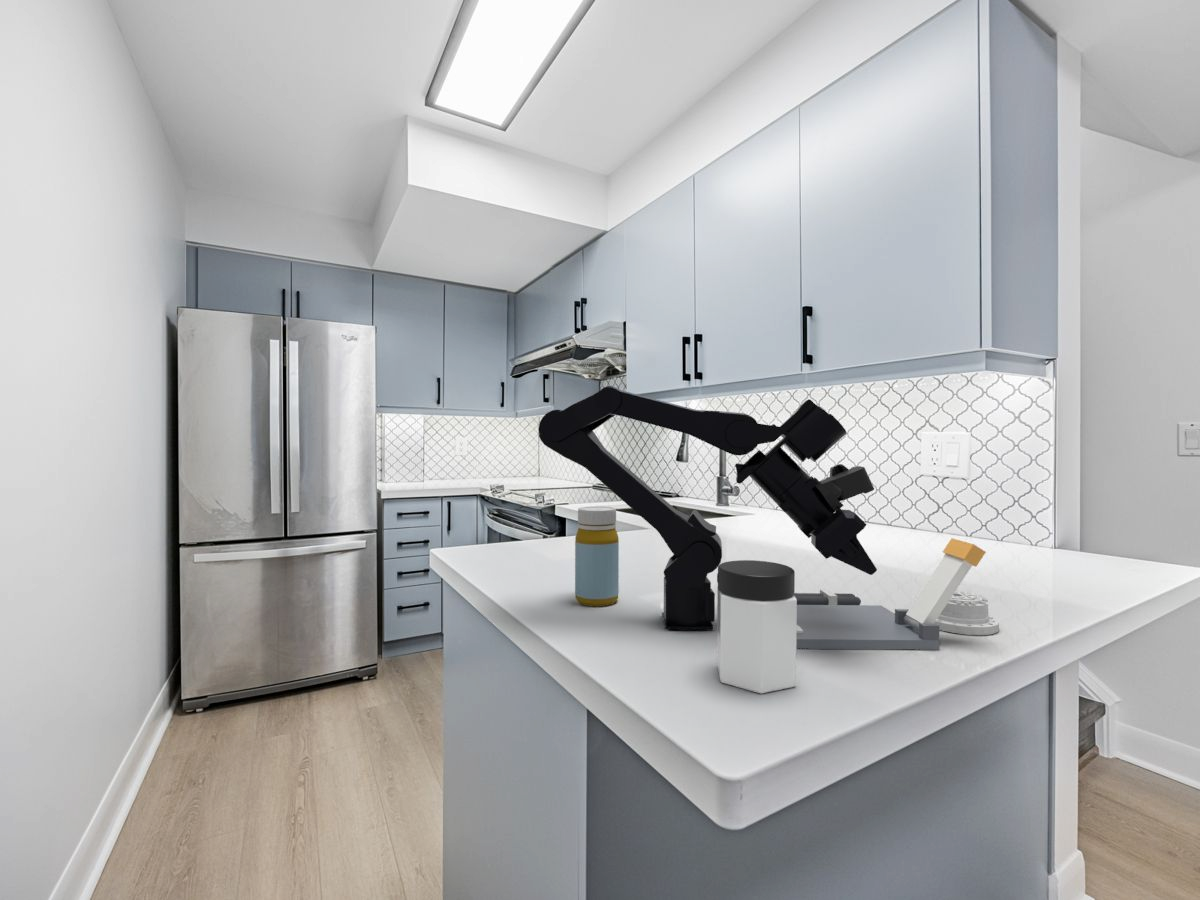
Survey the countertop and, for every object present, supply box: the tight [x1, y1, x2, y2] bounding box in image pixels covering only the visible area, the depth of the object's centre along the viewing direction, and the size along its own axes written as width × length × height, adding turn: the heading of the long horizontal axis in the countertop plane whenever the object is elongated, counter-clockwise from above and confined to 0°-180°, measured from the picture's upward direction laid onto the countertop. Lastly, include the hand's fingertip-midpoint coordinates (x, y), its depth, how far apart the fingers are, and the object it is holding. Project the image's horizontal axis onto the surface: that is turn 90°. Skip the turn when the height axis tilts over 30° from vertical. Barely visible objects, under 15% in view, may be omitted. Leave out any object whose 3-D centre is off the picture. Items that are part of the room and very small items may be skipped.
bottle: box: [574, 506, 620, 607], centre depth 91 cm, size 7×7×15 cm
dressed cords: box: [794, 588, 862, 605], centre depth 90 cm, size 19×4×2 cm, turn 89°
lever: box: [904, 538, 987, 631], centre depth 73 cm, size 2×5×13 cm
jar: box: [716, 559, 797, 694], centre depth 62 cm, size 9×8×12 cm
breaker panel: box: [796, 604, 941, 651], centre depth 77 cm, size 21×15×3 cm
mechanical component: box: [935, 590, 1000, 636], centre depth 80 cm, size 10×4×10 cm
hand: (873, 572), depth 74 cm, fingers closed
